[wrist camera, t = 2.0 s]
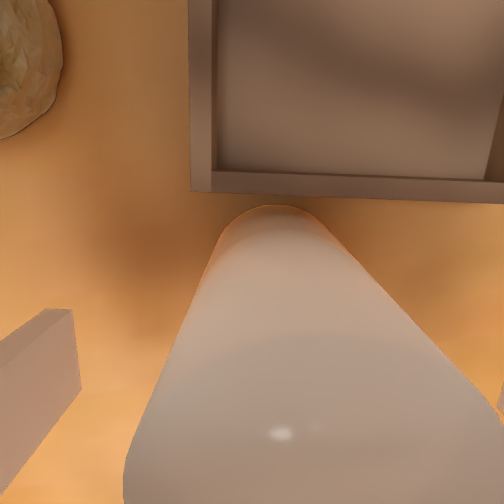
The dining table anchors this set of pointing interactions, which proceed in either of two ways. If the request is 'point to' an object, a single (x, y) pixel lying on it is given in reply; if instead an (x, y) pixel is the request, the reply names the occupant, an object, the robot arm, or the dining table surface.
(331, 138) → the tray
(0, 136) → the decorative item
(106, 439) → the dining table surface
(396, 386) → the white rounded tapered cylinder
